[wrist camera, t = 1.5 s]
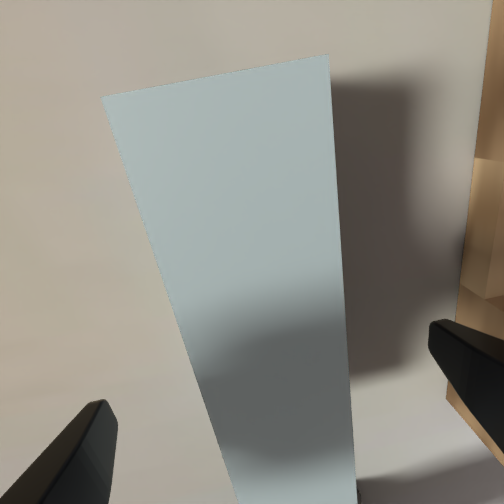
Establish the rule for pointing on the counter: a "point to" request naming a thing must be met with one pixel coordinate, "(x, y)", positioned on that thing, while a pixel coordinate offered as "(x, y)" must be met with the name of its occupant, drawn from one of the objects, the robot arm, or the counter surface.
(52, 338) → the counter surface
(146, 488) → the counter surface
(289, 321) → the pale blue block
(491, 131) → the notched beam
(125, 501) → the counter surface
